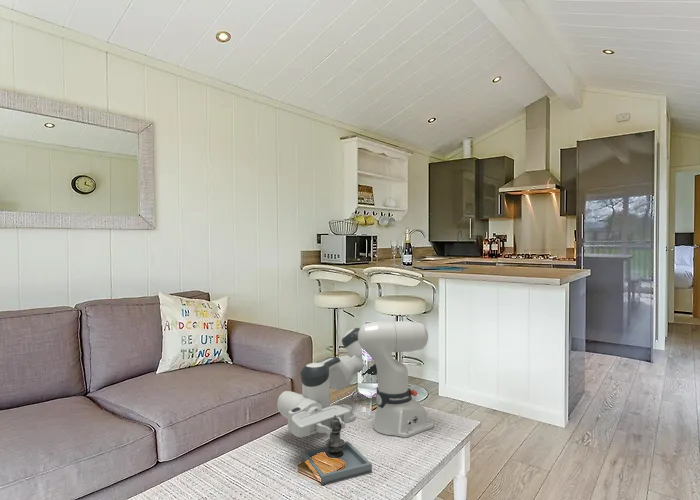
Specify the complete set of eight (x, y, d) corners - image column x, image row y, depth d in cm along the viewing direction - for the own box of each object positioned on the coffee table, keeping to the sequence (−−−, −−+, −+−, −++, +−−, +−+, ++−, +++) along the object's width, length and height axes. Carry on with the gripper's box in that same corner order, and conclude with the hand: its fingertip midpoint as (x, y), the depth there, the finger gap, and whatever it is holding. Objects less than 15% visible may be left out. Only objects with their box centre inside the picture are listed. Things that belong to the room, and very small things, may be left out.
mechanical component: (326, 422, 167) (352, 424, 165) (326, 410, 167) (352, 413, 165) (332, 412, 177) (357, 414, 175) (333, 401, 177) (357, 403, 175)
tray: (348, 449, 146) (348, 441, 145) (371, 472, 131) (371, 463, 131) (302, 459, 138) (302, 451, 138) (321, 485, 124) (321, 476, 124)
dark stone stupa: (338, 460, 131) (338, 420, 130) (321, 455, 134) (321, 416, 133) (348, 452, 136) (348, 413, 136) (332, 447, 139) (332, 409, 138)
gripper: (334, 416, 151) (362, 429, 141) (283, 433, 138) (309, 449, 127) (334, 397, 151) (362, 409, 141) (283, 413, 138) (309, 427, 127)
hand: (336, 428), depth 134 cm, fingers closed on dark stone stupa, 4 cm apart
